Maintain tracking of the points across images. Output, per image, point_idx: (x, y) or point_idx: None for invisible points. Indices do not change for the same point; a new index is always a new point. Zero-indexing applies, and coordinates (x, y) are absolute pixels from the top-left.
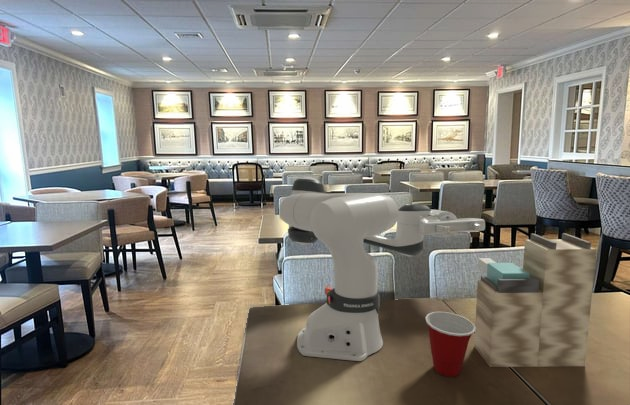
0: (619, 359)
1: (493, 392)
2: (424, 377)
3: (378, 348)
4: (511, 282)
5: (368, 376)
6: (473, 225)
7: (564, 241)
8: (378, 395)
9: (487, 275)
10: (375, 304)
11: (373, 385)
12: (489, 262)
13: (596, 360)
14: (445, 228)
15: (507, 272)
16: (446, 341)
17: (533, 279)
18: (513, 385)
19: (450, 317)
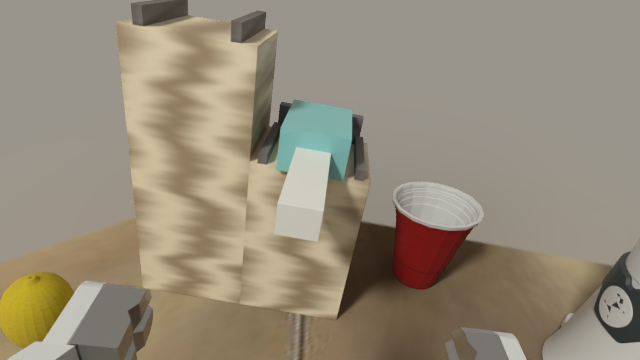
0: (87, 238)
1: (361, 229)
2: (451, 267)
3: (547, 340)
4: None
5: (538, 284)
6: (130, 327)
7: (162, 24)
8: (512, 252)
9: (344, 171)
10: (608, 273)
11: (524, 267)
12: (310, 178)
13: (133, 244)
14: (501, 335)
15: (338, 109)
16: (440, 204)
17: (291, 104)
18: None
19: (428, 227)
